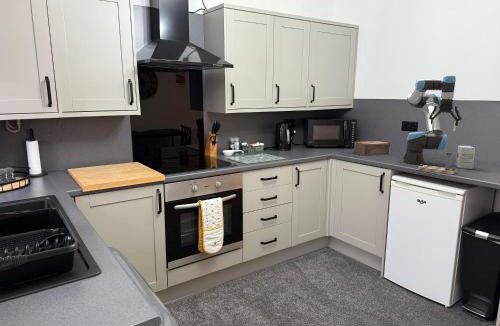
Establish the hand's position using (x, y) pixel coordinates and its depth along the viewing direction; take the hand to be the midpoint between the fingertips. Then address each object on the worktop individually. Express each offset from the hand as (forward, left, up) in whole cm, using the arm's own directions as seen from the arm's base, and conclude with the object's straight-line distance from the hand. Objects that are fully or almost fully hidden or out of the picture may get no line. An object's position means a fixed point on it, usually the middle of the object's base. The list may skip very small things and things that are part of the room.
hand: (443, 130), depth 241 cm
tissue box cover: (-62, +26, -27) cm, 73 cm away
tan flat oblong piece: (+3, -14, -27) cm, 30 cm away
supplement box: (+12, +16, -27) cm, 34 cm away
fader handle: (+9, -14, -24) cm, 30 cm away
